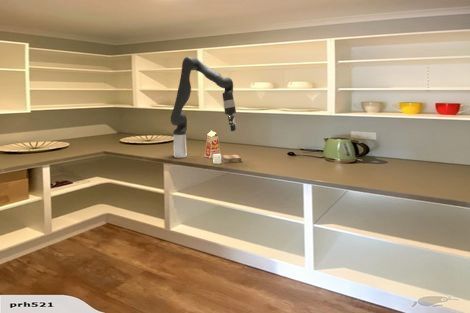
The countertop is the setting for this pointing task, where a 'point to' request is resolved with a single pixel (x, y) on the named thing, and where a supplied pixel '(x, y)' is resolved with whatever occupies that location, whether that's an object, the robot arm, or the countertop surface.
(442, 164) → the countertop surface
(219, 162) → the cube
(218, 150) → the milk carton
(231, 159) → the base
